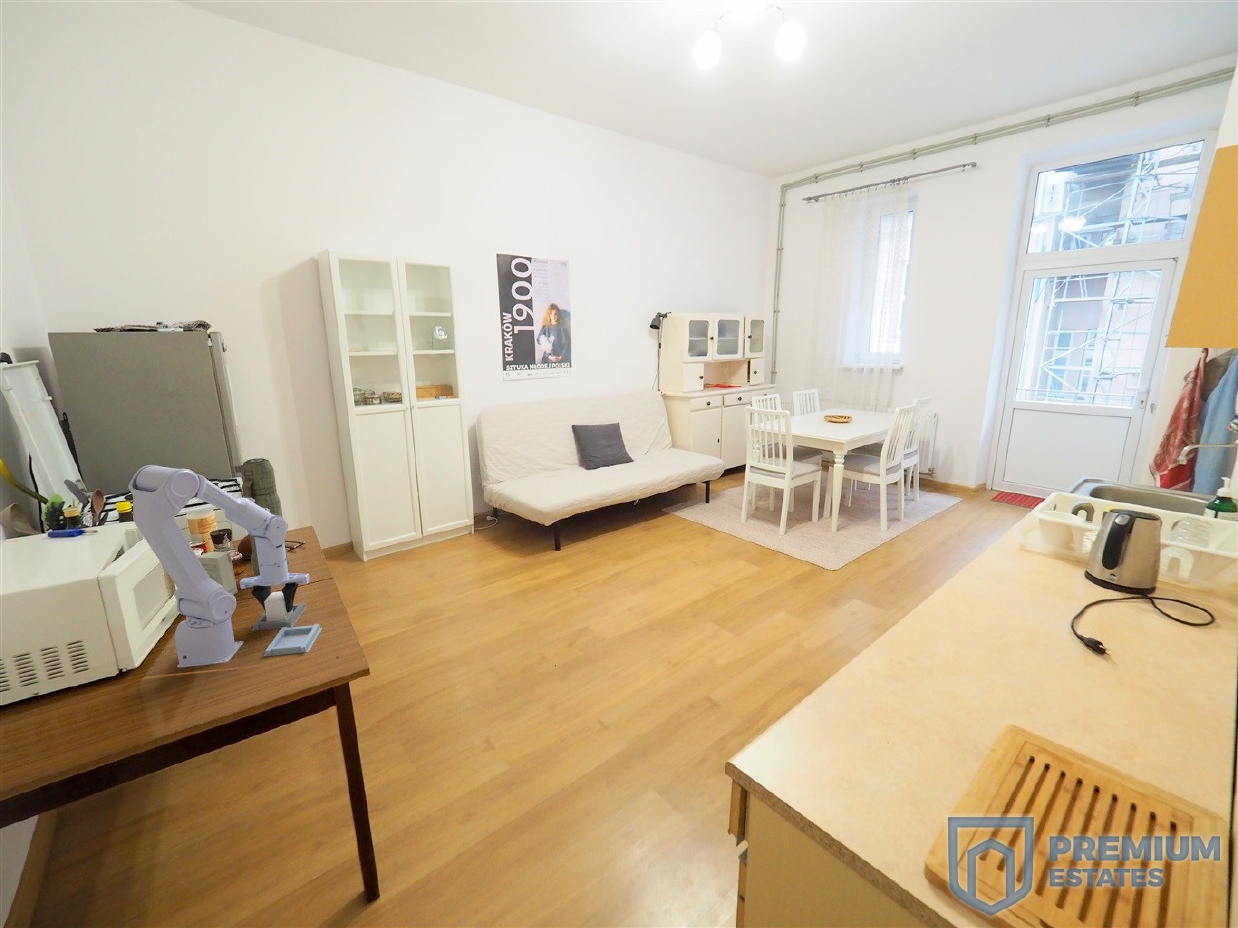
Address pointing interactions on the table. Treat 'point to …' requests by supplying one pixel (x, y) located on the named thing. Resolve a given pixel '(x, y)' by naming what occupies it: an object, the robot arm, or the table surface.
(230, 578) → the skincare box
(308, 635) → the front socket
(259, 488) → the olive tall rounded block
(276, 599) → the white rectangular block
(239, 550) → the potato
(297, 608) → the rear socket
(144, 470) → the robot arm
